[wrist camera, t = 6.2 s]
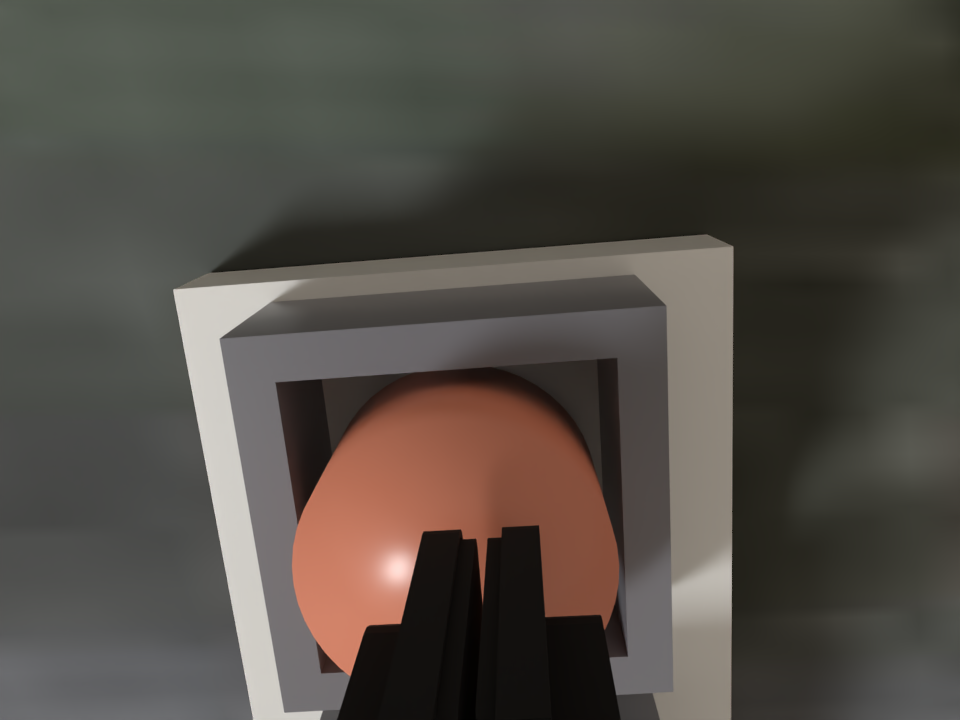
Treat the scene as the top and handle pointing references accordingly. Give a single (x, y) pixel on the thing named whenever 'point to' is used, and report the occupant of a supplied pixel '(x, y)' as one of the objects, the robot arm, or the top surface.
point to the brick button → (449, 500)
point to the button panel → (476, 344)
